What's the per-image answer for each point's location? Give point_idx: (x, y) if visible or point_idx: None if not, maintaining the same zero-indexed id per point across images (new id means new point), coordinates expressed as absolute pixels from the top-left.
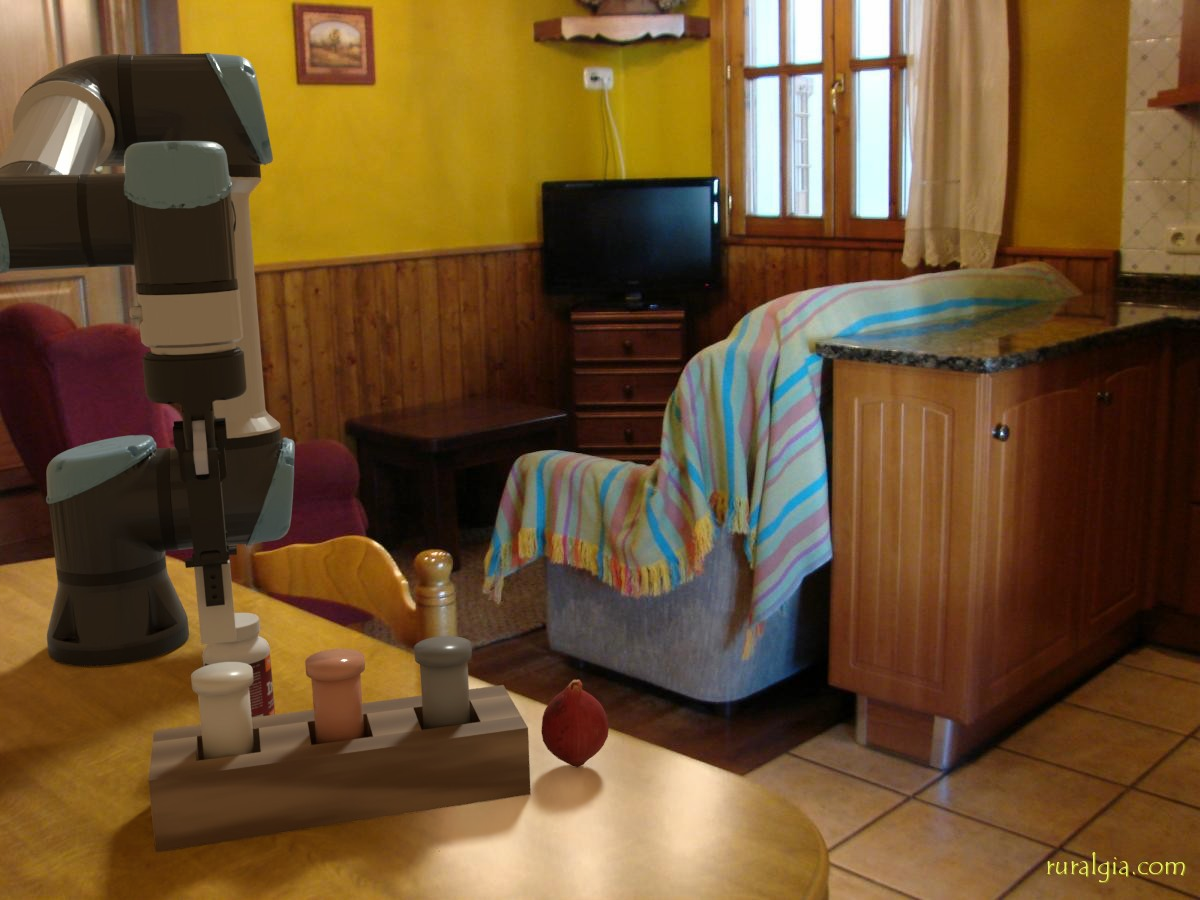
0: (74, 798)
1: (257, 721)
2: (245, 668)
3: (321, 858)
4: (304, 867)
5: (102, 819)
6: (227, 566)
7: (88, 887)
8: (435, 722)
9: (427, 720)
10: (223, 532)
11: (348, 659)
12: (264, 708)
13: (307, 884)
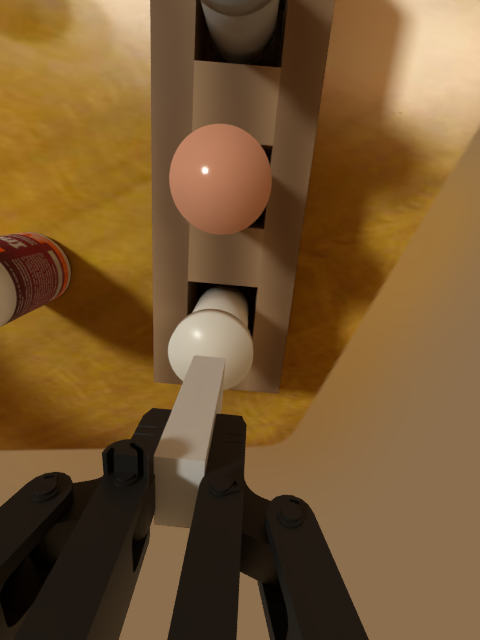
0: (150, 409)
1: (166, 280)
2: (208, 324)
3: (353, 232)
4: (361, 249)
5: None
6: (206, 458)
7: (307, 403)
8: (267, 37)
9: (255, 49)
10: (358, 616)
11: (234, 158)
12: (41, 249)
13: (392, 251)
